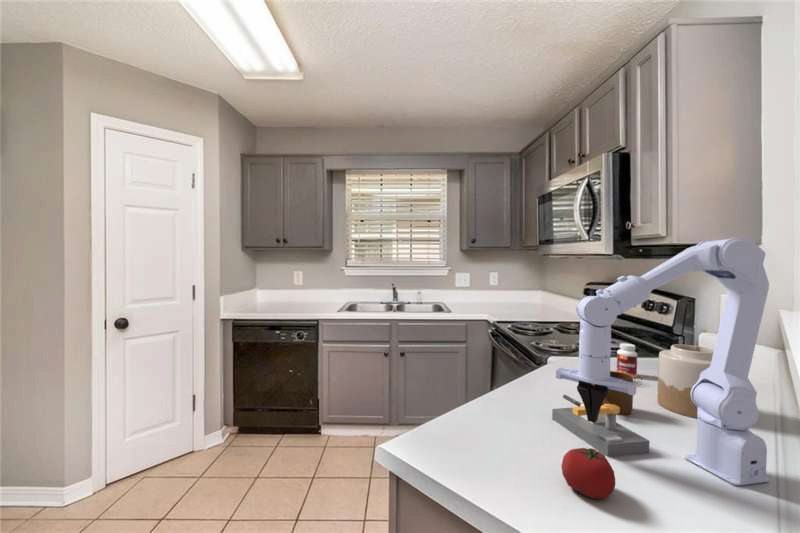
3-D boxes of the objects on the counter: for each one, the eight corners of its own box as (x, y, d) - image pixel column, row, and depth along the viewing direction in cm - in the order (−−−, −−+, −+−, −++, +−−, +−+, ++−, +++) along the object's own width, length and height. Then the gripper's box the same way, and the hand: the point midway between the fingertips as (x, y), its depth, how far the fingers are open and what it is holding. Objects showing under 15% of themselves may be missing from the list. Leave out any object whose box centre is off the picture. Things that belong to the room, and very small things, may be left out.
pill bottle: (616, 376, 127) (617, 345, 127) (615, 371, 133) (616, 342, 133) (637, 379, 125) (638, 347, 124) (635, 374, 130) (636, 344, 130)
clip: (611, 408, 81) (611, 403, 81) (621, 413, 78) (621, 408, 78) (570, 411, 79) (570, 406, 79) (579, 417, 76) (579, 411, 76)
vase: (684, 419, 91) (686, 354, 91) (645, 397, 107) (646, 341, 107) (745, 422, 91) (748, 356, 91) (697, 399, 106) (699, 343, 106)
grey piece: (649, 452, 74) (650, 423, 74) (607, 456, 72) (608, 427, 72) (586, 416, 92) (587, 392, 92) (552, 418, 90) (552, 394, 90)
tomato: (597, 477, 65) (598, 437, 65) (626, 507, 57) (627, 462, 57) (553, 477, 65) (554, 437, 65) (577, 507, 57) (578, 461, 57)
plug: (607, 422, 83) (608, 409, 83) (592, 423, 82) (593, 410, 82) (571, 401, 95) (571, 390, 95) (557, 402, 94) (558, 391, 94)
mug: (612, 421, 90) (613, 383, 90) (583, 410, 96) (584, 374, 96) (638, 412, 96) (639, 376, 96) (609, 402, 102) (610, 369, 102)
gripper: (639, 358, 72) (637, 425, 72) (563, 345, 82) (562, 405, 82) (633, 364, 67) (631, 437, 67) (553, 350, 77) (551, 414, 77)
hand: (592, 420), depth 74 cm, fingers closed
